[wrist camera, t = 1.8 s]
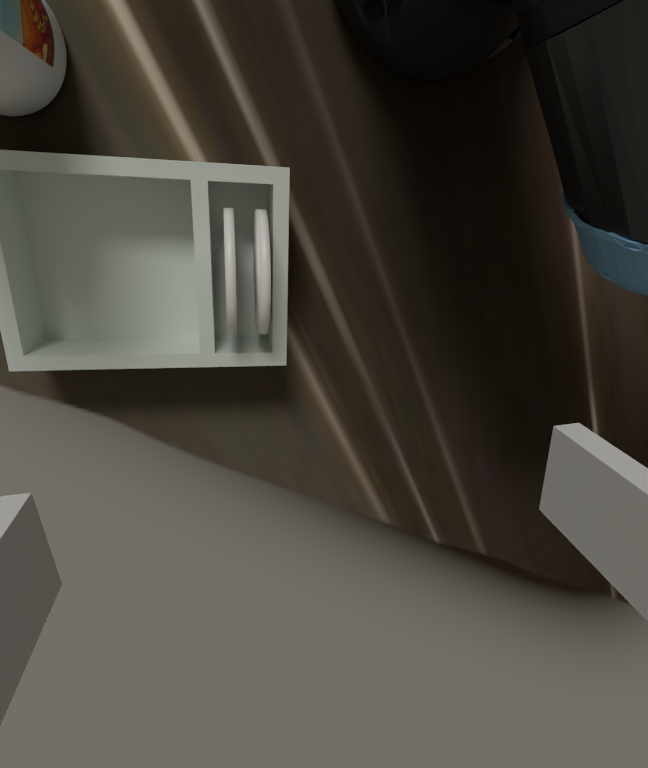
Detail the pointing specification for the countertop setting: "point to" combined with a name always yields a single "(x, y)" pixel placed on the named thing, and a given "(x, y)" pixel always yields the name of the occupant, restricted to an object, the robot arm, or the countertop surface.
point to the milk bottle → (29, 56)
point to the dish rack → (141, 262)
